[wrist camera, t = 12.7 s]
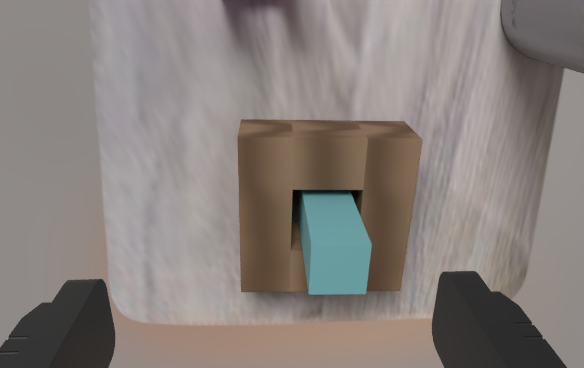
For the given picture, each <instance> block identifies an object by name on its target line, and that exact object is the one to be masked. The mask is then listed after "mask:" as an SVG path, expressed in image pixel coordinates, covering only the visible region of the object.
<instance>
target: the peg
mask: <svg viewBox="0 0 584 368" xmlns="http://www.w3.org/2000/svg"><path fill="white" fill-rule="evenodd" d="M298 221H299V228H300V235H301V242H302V250H303V257H304V264H305V272H306V279H307V286H308V294H309V295H334V294H366V289H367V281H368V273H369V264H370V256H371V247H372V244H371V242H370V239H369V237H368V234H367V232H366V229H365V227H364V224H363V222H362V219H361V217H360V214H359V212H358V209H357V207H356V204H355V202H354V199H353V197H352V194H351V192H350V190H299V191H298Z"/></svg>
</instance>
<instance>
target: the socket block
mask: <svg viewBox="0 0 584 368" xmlns="http://www.w3.org/2000/svg"><path fill="white" fill-rule="evenodd" d="M421 147H422V139H421V138H420V137H419V136H418V135H417V134H416V133H415V132H414V131H413V130H412V129H411V128H410V127H409V126H408V125H407V124H406V123H405V122H404V121H320V120H241V123H240V128H239V134H238V173H239V217H240V262H241V292H308V286H307V279H306V272H305V264H304V257H303V250H302V242H301V235H300V228H299V222H292V192H293V190H350V192H351V194H352V197H353V199H354V202H355V204H356V207H357V209H358V212H359V214H360V217H361V219H362V222H363V224H364V227H365V229H366V232H367V234H368V237H369V239H370V242H371V244H372V247H371V256H370V264H369V273H368V281H367V289H366V291H400V288H401V281H402V274H403V268H404V261H405V254H406V248H407V241H408V234H409V228H410V221H411V214H412V207H413V201H414V194H415V187H416V181H417V174H418V167H419V160H420V154H421Z"/></svg>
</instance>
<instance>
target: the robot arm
mask: <svg viewBox="0 0 584 368" xmlns="http://www.w3.org/2000/svg"><path fill="white" fill-rule="evenodd" d="M501 15H502V24H503V27H504V30H505V33H506V36H507V37H508V39H509V41H510V42H511V44H512V45H513V46H514V47H515V48H516V49H517V50H518V51H519V52H521V53H523V54H524V55H526V56H528V57H530V58H534V59H537V60H541V61H544V62H547V63H551V64H554V65H557V66H560V67H564V68H567V69H571V70H574V71H577V72H581V73H584V0H502V8H501ZM432 335H433V341H434V345H435V348H436V351H437V353H438V355H439V357H440V359H441V361H442V363H443V365H444V368H567V367H566V366H565V364H564V363H563V362H562V361H561V359H560V358H559V357H558V355H557V354H556V353H555V351H554V350H553V349H552V348H551V346H550V345H549V344H548V343H547V341H546V340H545V339H543V338H542V335H541V333H540V332H539V331H538V330H537V328H536V327H535V326H534V325H532V322H531V321H530V320H529V318H528V317H527V315H526V314H525V313H524V312H523V310H522V309H521V308H520V306H519V305H517V304H516V303H515V302H513V301H512V300H510V299H509V298H508V297H506V296H505V295H503V294H502V293H501V292H491V291H490V290H489V288H488V287H487V285H486V284H485V283H484V281H483V280H482V278H481V277H480V276H479V274H478V273H477V272H475V271H455V272H442V274H441V275H440V278H439V283H438V289H437V295H436V301H435V308H434V314H433V320H432ZM114 347H115V329H114V324H113V319H112V313H111V308H110V303H109V298H108V292H107V288H106V284H105V282H104V281H103V280H102V279H93V280H92V279H89V280H68V281H67V282H66V283H65V284H64V285H63V286H62V288H61V290H60V291H59V292H58V294H57V295H56V297H55V298H54V300H53V301H52V303H41V304H40V305H39V306H37V307H36V308H35V309H33V310H32V311H31V312H29V313H28V314H27V315H25V316H24V317H23V318H22V319H21V320H20V322H19V323H18V325H16V327H15V328H14V330H13V331H12V332H11V334H10V335H9V339H8V340H6V341H5V342H4V343H3V345H2V346H1V347H0V368H108V367H109V364H110V362H111V359H112V356H113V353H114Z"/></svg>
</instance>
